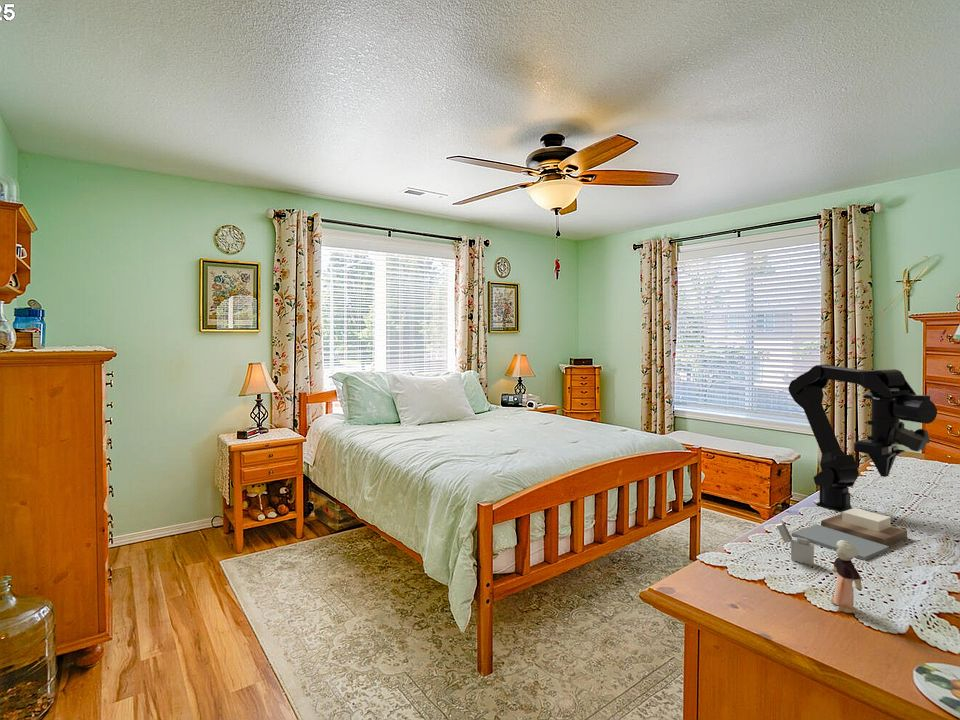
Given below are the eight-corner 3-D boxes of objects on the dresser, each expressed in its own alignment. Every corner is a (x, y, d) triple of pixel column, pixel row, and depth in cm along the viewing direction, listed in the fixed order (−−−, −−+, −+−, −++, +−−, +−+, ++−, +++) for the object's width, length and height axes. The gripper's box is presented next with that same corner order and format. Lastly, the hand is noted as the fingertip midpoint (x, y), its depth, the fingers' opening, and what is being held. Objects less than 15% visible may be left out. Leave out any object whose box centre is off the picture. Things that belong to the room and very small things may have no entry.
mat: (791, 535, 124) (791, 532, 124) (816, 527, 130) (816, 524, 130) (864, 560, 110) (864, 557, 110) (889, 549, 115) (889, 546, 115)
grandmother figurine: (819, 598, 95) (820, 533, 95) (838, 596, 96) (838, 532, 95) (852, 620, 88) (853, 551, 87) (872, 619, 88) (873, 549, 88)
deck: (821, 528, 129) (821, 520, 129) (843, 520, 134) (843, 512, 134) (884, 547, 116) (884, 539, 116) (907, 538, 122) (907, 530, 121)
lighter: (813, 563, 110) (814, 527, 109) (812, 565, 108) (812, 530, 108) (777, 554, 115) (777, 520, 114) (775, 556, 113) (775, 522, 113)
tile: (842, 521, 128) (842, 511, 128) (854, 517, 131) (854, 507, 131) (878, 531, 121) (878, 521, 121) (890, 526, 124) (890, 517, 124)
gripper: (905, 425, 117) (904, 490, 118) (941, 418, 126) (940, 478, 127) (852, 419, 127) (852, 478, 128) (888, 412, 136) (888, 468, 136)
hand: (884, 476), depth 129 cm, fingers closed
